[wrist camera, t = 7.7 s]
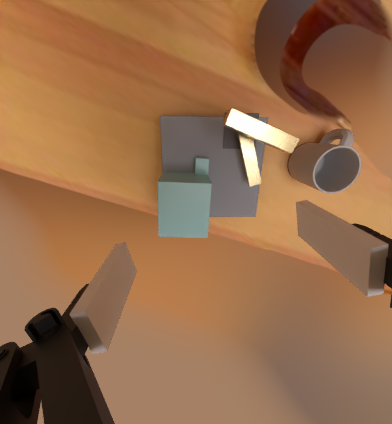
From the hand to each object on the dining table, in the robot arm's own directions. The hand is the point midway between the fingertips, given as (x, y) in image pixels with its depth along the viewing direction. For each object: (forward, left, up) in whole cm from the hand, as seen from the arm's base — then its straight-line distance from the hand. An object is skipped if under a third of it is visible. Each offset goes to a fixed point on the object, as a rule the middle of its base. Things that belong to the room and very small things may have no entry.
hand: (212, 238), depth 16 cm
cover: (+1, -2, -20) cm, 20 cm away
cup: (-4, +21, -26) cm, 33 cm away
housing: (-2, +2, -26) cm, 26 cm away
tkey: (-5, +6, -19) cm, 21 cm away
